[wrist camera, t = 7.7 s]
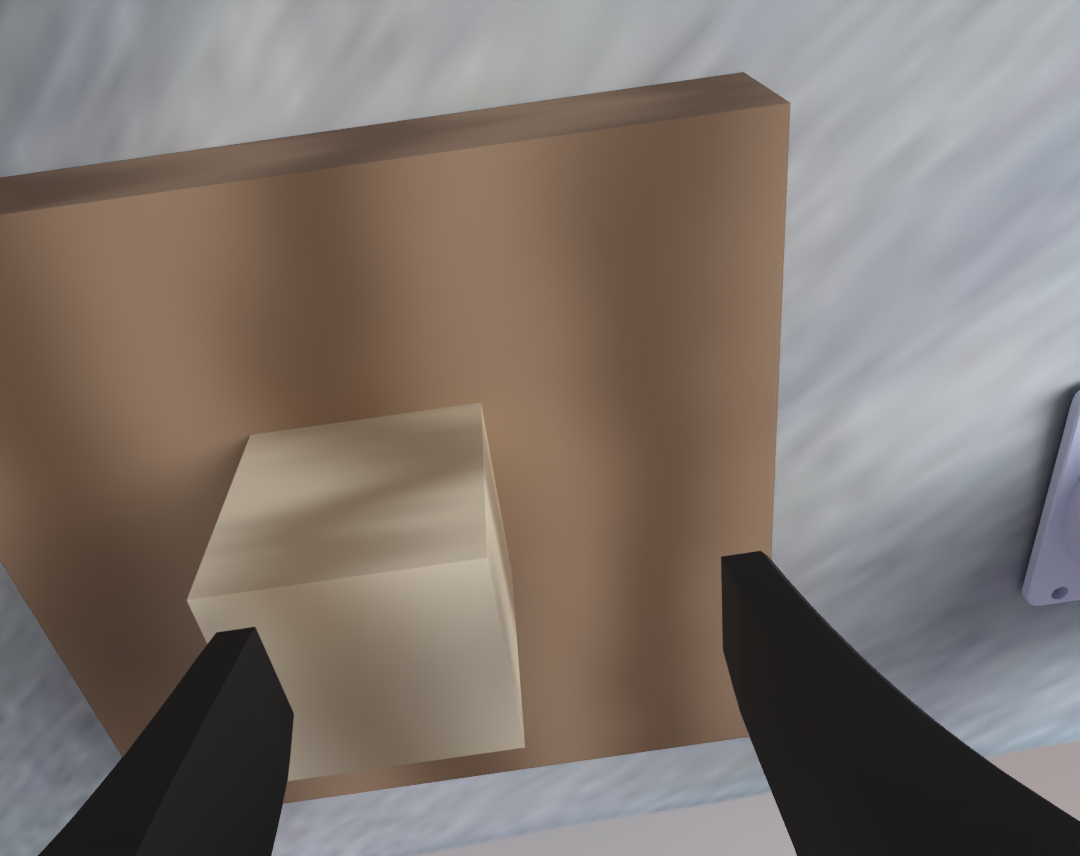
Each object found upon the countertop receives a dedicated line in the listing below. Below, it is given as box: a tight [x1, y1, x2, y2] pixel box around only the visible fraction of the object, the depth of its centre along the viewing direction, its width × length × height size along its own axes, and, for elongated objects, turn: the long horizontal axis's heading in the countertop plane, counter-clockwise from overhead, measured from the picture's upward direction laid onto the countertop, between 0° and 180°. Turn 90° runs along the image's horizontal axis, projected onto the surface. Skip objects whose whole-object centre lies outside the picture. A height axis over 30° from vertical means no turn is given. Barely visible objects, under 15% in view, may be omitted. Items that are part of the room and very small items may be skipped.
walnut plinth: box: [0, 72, 790, 804], centre depth 21 cm, size 18×18×3 cm
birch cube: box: [187, 403, 525, 781], centre depth 17 cm, size 5×5×5 cm
